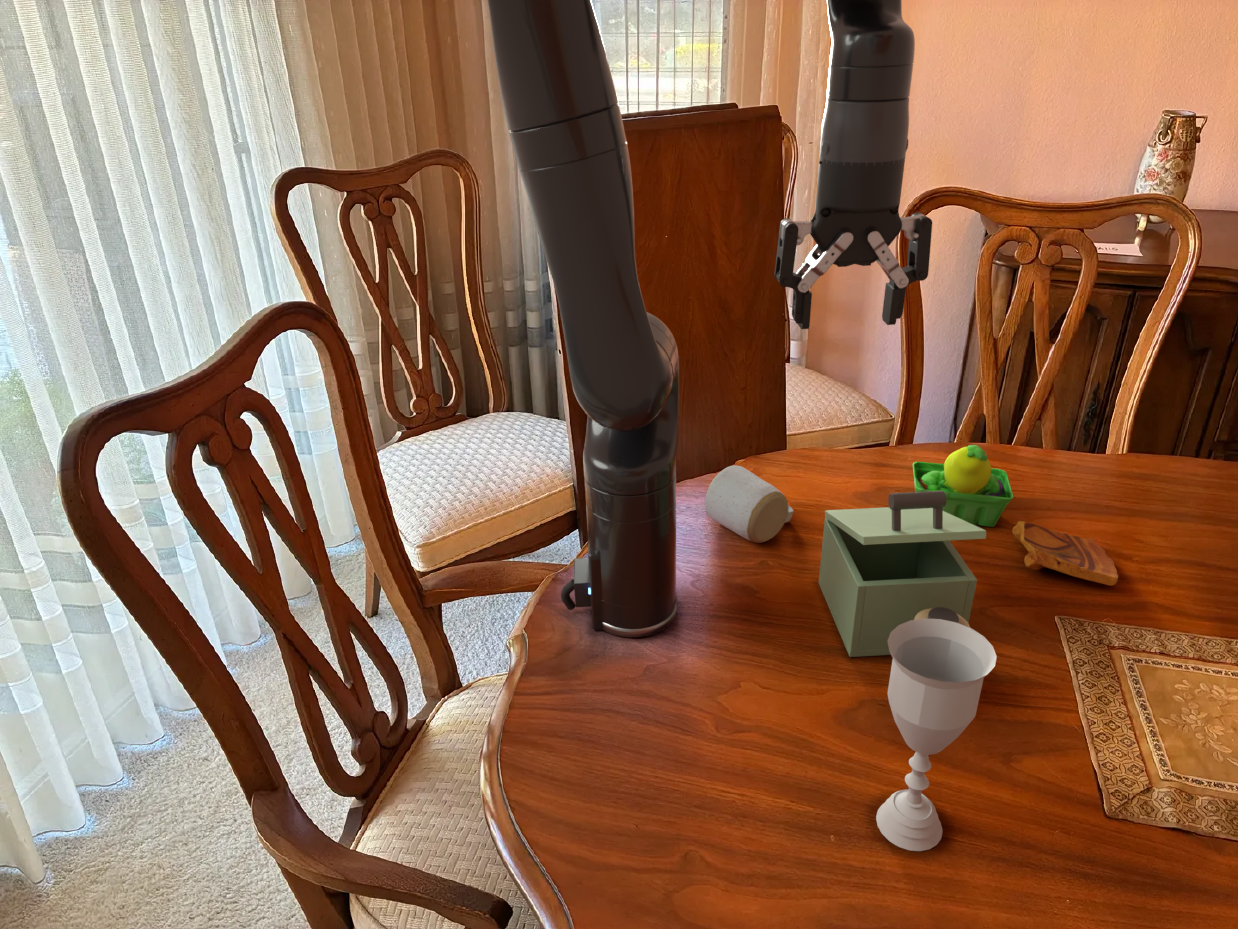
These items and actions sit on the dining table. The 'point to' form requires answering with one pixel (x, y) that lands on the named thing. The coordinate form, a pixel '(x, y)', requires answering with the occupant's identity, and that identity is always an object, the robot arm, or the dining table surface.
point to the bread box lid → (905, 521)
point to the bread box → (888, 586)
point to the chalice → (929, 714)
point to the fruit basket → (967, 485)
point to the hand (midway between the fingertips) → (845, 324)
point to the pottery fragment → (1065, 553)
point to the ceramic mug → (747, 504)
